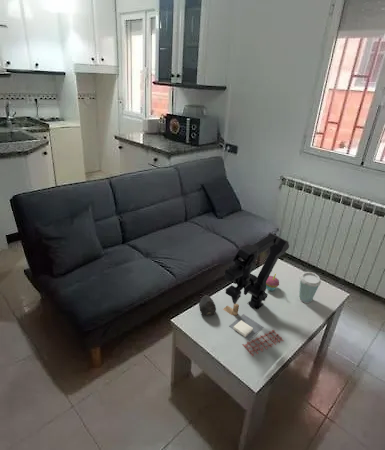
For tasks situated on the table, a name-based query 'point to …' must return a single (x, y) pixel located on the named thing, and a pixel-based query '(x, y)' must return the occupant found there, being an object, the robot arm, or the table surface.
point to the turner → (232, 311)
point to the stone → (207, 306)
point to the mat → (251, 323)
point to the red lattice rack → (262, 342)
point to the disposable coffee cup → (308, 286)
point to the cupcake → (272, 283)
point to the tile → (243, 328)
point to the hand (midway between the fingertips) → (239, 299)
